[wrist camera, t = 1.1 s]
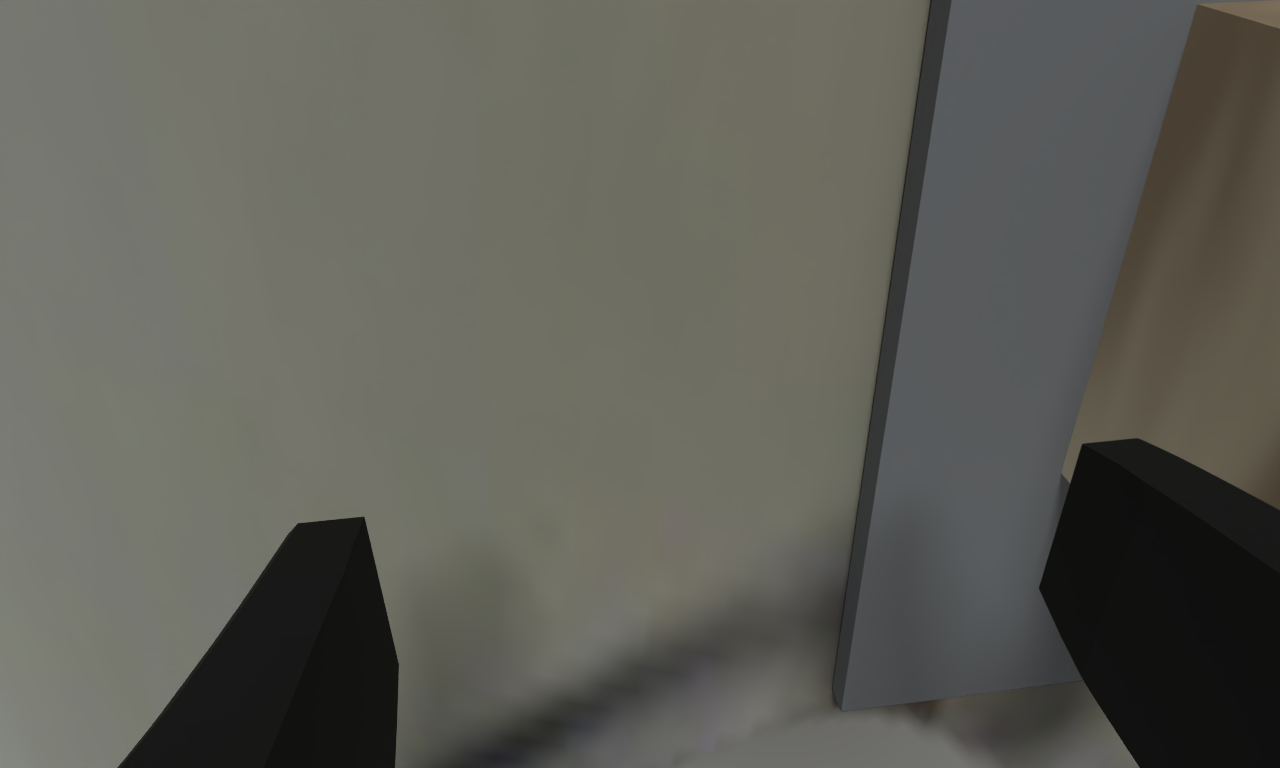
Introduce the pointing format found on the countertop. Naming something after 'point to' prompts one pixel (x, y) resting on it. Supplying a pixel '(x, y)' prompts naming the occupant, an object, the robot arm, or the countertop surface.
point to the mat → (996, 334)
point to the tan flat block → (1203, 268)
